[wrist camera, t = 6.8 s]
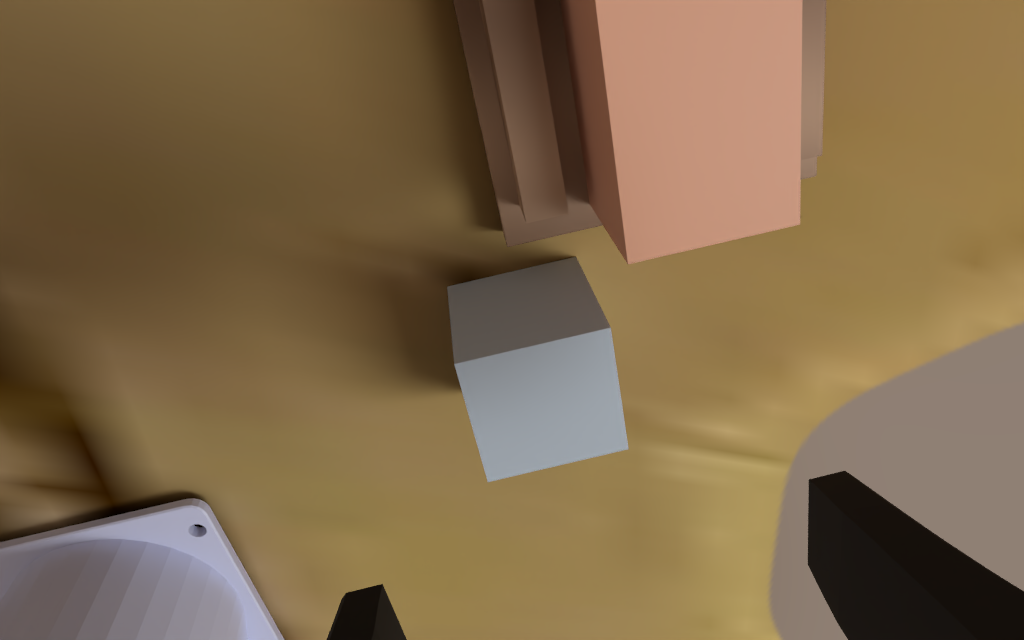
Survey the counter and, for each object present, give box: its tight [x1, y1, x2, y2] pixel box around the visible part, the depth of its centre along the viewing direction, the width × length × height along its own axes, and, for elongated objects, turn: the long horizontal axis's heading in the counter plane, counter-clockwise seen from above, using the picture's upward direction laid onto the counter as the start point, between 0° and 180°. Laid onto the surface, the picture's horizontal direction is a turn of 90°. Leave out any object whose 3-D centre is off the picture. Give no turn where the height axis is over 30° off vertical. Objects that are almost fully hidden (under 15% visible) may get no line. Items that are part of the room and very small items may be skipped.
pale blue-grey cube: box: [447, 257, 628, 482], centre depth 19 cm, size 4×4×4 cm
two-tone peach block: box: [560, 0, 803, 264], centre depth 14 cm, size 8×4×4 cm, turn 11°
